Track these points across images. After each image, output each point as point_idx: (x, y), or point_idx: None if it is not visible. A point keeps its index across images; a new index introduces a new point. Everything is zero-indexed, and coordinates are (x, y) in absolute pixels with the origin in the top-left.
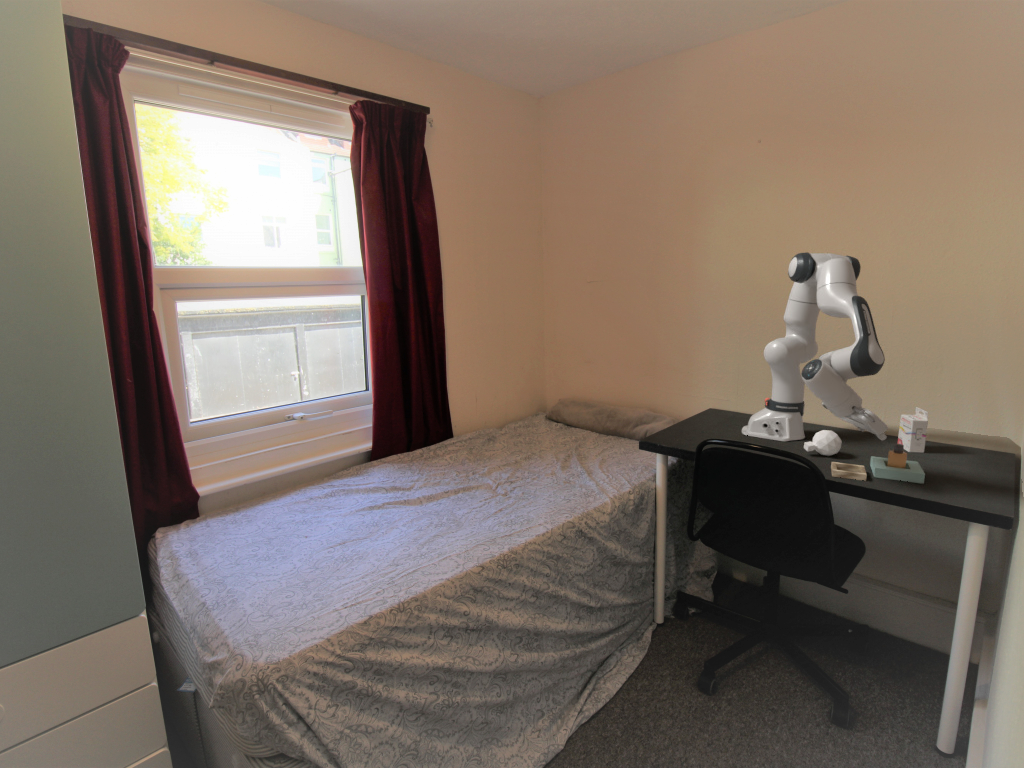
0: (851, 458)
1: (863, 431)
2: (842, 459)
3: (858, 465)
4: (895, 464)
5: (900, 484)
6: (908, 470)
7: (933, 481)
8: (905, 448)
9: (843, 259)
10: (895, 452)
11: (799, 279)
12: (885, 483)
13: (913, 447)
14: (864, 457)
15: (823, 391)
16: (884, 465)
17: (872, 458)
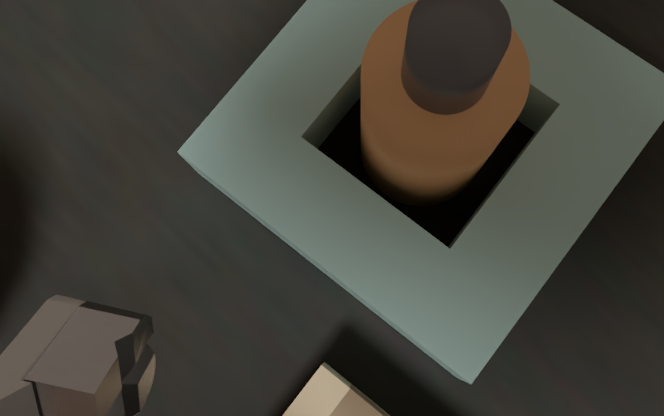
0: (24, 194)
1: (154, 370)
2: (20, 288)
3: (305, 412)
4: (476, 168)
5: (636, 303)
6: (583, 146)
7: (610, 14)
8: None
9: None
10: (458, 112)
11: None
12: (600, 405)
13: None
14: (38, 74)
15: None
16: (426, 242)
17: (234, 191)
